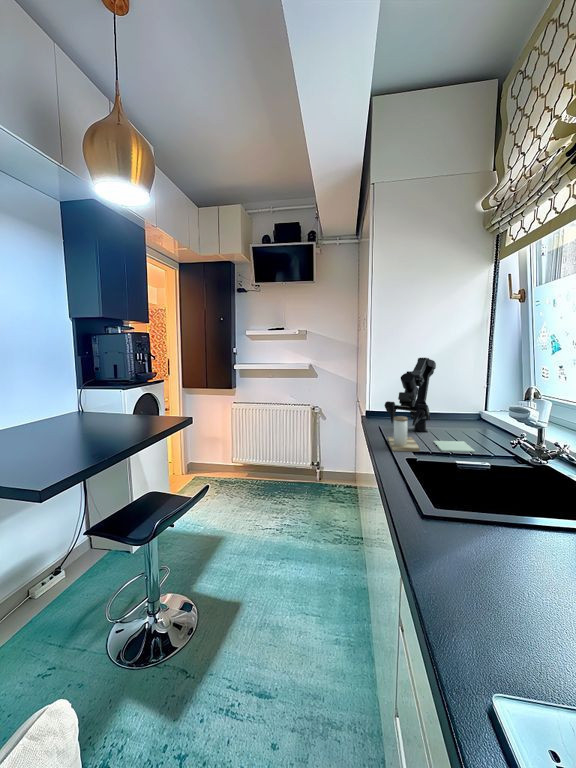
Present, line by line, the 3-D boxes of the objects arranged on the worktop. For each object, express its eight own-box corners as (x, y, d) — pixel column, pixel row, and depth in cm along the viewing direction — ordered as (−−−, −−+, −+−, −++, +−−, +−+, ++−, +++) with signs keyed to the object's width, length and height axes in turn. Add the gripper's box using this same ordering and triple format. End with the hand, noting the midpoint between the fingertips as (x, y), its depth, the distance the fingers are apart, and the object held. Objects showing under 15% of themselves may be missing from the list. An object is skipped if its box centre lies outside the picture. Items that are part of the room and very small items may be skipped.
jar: (392, 442, 145) (392, 415, 144) (406, 442, 144) (406, 416, 142) (394, 446, 139) (394, 418, 138) (408, 446, 138) (409, 419, 137)
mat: (433, 442, 148) (433, 440, 148) (463, 442, 146) (464, 441, 146) (441, 451, 136) (441, 449, 135) (475, 452, 133) (475, 450, 133)
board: (387, 440, 153) (387, 436, 153) (412, 440, 151) (412, 437, 151) (392, 450, 138) (392, 447, 137) (419, 451, 136) (419, 448, 135)
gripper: (386, 384, 150) (377, 411, 143) (428, 386, 139) (421, 416, 132) (391, 398, 158) (383, 425, 150) (432, 401, 146) (425, 430, 139)
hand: (402, 424), depth 142 cm, fingers open, 9 cm apart
